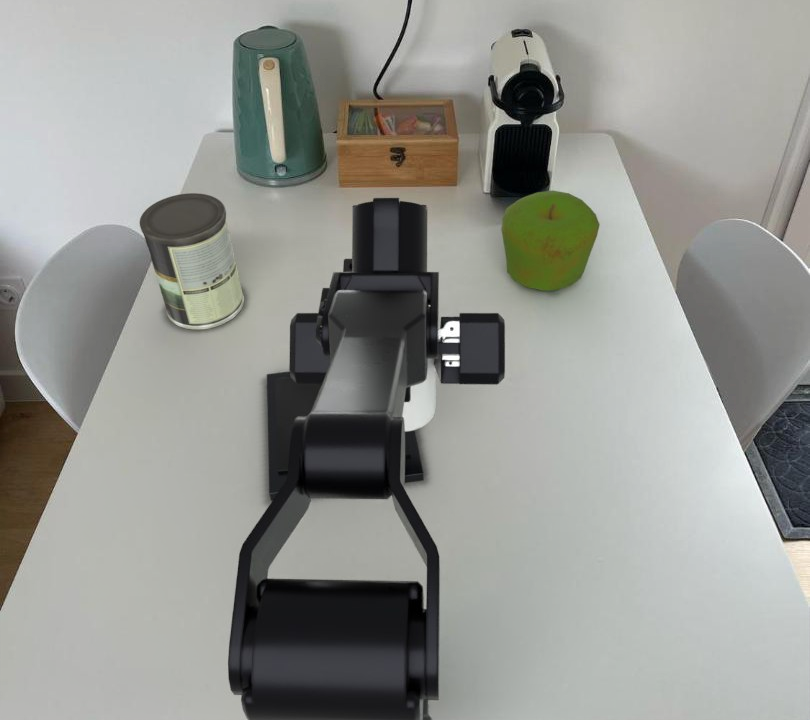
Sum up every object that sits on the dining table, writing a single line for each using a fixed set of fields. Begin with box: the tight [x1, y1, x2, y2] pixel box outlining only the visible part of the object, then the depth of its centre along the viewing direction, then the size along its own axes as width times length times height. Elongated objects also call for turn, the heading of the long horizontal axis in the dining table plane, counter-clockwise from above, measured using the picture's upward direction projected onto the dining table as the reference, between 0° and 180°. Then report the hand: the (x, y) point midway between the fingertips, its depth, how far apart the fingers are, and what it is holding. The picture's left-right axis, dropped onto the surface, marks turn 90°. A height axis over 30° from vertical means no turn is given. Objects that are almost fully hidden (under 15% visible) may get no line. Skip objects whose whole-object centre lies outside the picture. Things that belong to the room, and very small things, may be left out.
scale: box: [266, 371, 425, 502], centre depth 90 cm, size 18×16×2 cm
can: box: [402, 359, 437, 432], centre depth 79 cm, size 6×6×12 cm
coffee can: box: [139, 192, 245, 331], centre depth 103 cm, size 10×10×14 cm
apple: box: [501, 190, 600, 292], centre depth 106 cm, size 12×12×11 cm
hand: (402, 354), depth 80 cm, fingers closed on can, 6 cm apart
